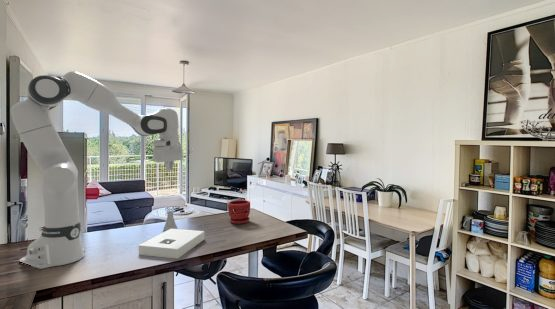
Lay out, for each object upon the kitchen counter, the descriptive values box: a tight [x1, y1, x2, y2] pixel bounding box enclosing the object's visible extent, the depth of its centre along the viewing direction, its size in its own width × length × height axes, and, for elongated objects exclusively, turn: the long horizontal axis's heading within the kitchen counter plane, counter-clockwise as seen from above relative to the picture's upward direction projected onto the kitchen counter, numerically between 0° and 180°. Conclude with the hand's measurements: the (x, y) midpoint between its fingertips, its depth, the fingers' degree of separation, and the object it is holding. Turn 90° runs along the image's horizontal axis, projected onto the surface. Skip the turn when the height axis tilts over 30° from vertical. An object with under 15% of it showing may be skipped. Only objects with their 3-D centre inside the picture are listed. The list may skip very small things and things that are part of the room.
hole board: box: [138, 228, 205, 259], centre depth 133 cm, size 18×24×4 cm
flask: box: [162, 210, 179, 232], centre depth 157 cm, size 7×7×10 cm
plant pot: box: [227, 199, 251, 225], centre depth 174 cm, size 13×13×12 cm
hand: (169, 170), depth 144 cm, fingers closed
